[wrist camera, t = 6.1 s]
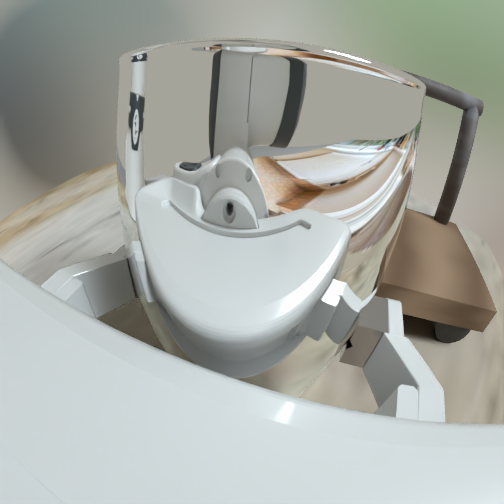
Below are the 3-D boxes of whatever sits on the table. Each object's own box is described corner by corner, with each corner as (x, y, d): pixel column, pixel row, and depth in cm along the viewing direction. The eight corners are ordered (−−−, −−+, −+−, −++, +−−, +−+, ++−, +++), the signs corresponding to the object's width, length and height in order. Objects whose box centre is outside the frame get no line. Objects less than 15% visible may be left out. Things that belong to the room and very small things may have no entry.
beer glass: (299, 472, 11) (514, 111, 2) (158, 444, 11) (28, 71, 3) (309, 362, 16) (386, 83, 8) (196, 342, 17) (185, 61, 8)
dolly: (265, 307, 20) (298, 25, 10) (301, 221, 30) (325, 54, 21) (465, 354, 16) (571, 132, 6) (439, 258, 27) (488, 104, 17)
